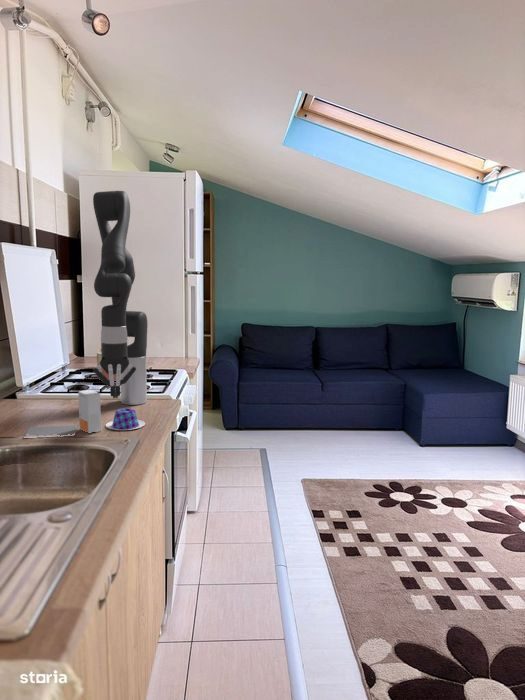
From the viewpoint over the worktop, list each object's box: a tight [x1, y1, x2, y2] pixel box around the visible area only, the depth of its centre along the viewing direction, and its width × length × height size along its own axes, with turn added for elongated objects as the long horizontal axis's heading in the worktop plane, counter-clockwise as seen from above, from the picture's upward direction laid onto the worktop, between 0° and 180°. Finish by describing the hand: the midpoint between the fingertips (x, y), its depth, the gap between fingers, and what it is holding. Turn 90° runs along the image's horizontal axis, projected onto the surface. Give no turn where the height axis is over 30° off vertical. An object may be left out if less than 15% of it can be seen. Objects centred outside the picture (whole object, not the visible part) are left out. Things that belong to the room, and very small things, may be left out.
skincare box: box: [78, 389, 102, 434], centre depth 165 cm, size 6×4×12 cm
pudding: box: [105, 408, 146, 431], centre depth 171 cm, size 12×12×5 cm
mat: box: [24, 424, 79, 436], centre depth 163 cm, size 10×14×1 cm
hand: (115, 397), depth 166 cm, fingers closed
